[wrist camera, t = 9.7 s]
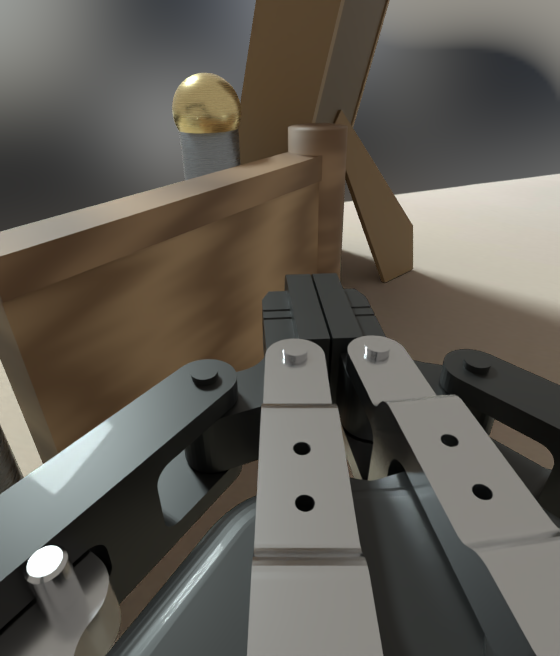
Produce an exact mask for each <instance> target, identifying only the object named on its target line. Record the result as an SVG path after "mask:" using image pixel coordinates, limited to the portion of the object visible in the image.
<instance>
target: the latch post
mask: <svg viewBox="0 0 560 656" xmlns="http://www.w3.org/2000/svg"><path fill="white" fill-rule="evenodd" d="M172 110H173V111H172V112H173V118H174V121H175V124H176V126H177V128H178V130H179V135H180V143H181V151H182V159H183V167H184V175H185V180H189V179H192V178H196V177H200V176H203V175H207V174H210V173H214V172H218V171H221V170H225V169H229V168H232V167H236V166H239V165H241V163H240V148H239V132H238V127H239V125H240V121H241V105H240V101H239V99H238V96H237V94H236V92H235V90H234V89H233V87H232V86H231V85H230V84H229V83H228V82H227V81H226V80H224V79H223V78H221V77H219V76H217V75H214V74H211V73H198V74H194V75H192V76H190V77H189V78H187V79H185V80H184V81H183V82H182V83H181V84H180V85H179V87H178V88H177V90H176V92H175V95H174V98H173V104H172Z"/></svg>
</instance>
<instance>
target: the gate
mask: <svg viewBox="0 0 560 656" xmlns="http://www.w3.org/2000/svg"><path fill="white" fill-rule="evenodd" d="M347 132H348V126H346V125H342V124H334V123H307V124H297V125H292V126H289V127H288V152H286V153H283V154H279V155H275V156H272V157H268V158H265V159H261V160H257V161H254V162H250V163H247V164H243V165H239V166H236V167H232V168H229V169H225V170H221V171H218V172H214V173H210V174H207V175H203V176H200V177H196V178H192V179H189V180H185V181H182V182H178V183H175V184H171V185H167V186H164V187H160V188H157V189H153V190H149V191H146V192H142V193H138V194H135V195H131V196H127V197H124V198H120V199H117V200H113V201H109V202H107V203H102V204H99V205H95V206H91V207H88V208H84V209H81V210H77V211H74V212H70V213H66V214H62V215H59V216H56V217H52V218H48V219H44V220H41V221H37V222H34V223H30V224H26V225H23V226H20V227H16V228H12V229H8V230H5V231H1V232H0V359H1V362H2V364H3V367H4V369H5V372H6V374H7V377H8V379H9V381H10V384H11V386H12V389H13V391H14V394H15V396H16V399H17V401H18V404H19V406H20V408H21V411H22V413H23V416H24V418H25V421H26V423H27V426H28V428H29V431H30V433H31V435H32V438H33V440H34V443H35V445H36V448H37V450H38V453H39V455H40V458H41V460H42V462H43V464H44V463H46V462H47V461H48V460H50V459H51V458H53V457H54V456H56V455H57V454H58V453H60V452H61V451H63V450H64V449H66V448H67V447H68V446H70V445H71V444H73V443H74V442H76V441H77V440H78V439H80V438H81V437H83V436H84V435H86V434H87V433H88V432H90V431H91V430H93V429H94V428H95V427H97V426H98V425H100V424H101V423H103V422H104V421H105V420H107V419H108V418H110V417H111V416H113V415H114V414H115V413H117V412H118V411H120V410H121V409H123V408H124V407H125V406H127V405H128V404H130V403H131V402H133V401H134V400H135V399H137V398H138V397H140V396H141V395H142V394H144V393H145V392H147V391H148V390H150V389H151V388H152V387H154V386H155V385H157V384H158V383H160V382H161V381H162V380H164V379H165V378H167V377H168V376H170V375H171V374H172V373H174V372H175V371H177V370H178V369H180V368H181V367H182V366H184V365H186V364H188V363H190V362H193V361H197V360H203V359H215V360H220V361H223V362H226V363H228V364H230V365H231V366H232V367H233V368H234V369H235V371H236V372H238V371H242V370H245V369H248V368H251V367H253V366H255V365H256V364H258V363H259V362H260V361H261V360H262V359H263V358H264V351H263V324H262V300H263V298H264V297H265V296H266V294H267V293H268V292H269V291H285V275H291V274H310V275H311V274H322V273H337V275H338V278H339V280H340V272H341V252H342V232H343V212H344V192H345V191H344V190H345V172H346V152H347Z"/></svg>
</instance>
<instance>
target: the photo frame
mask: <svg viewBox="0 0 560 656" xmlns="http://www.w3.org/2000/svg"><path fill="white" fill-rule="evenodd" d="M388 4H389V0H256V5H255V11H254V18H253V24H252V31H251V38H250V45H249V50H248V57H247V63H246V70H245V77H244V83H243V90H242V96H241V103H240V105H241V121H240V125H239V127H238V132H239V148H240V163H241V165H243V164H247V163H250V162H254V161H257V160H261V159H265V158H268V157H272V156H275V155H279V154H283V153H286V152H288V127H289V126H292V125H297V124H307V123H334V124H342V125H346V126H348V132H347V152H346V172H345V180H346V183H347V185H348V188H349V191H350V194H351V196H352V200H353V202H354V205H355V208H356V211H357V214H358V216H359V219H360V222H361V225H362V228H363V231H364V233H365V236H366V239H367V242H368V245H369V247H370V250H371V253H372V256H373V259H374V261H375V264H376V267H377V270H378V273H379V276H380V278H381V281H382V282H385V283H386V282H388V281H390V280H392V279H394V278H396V277H398V276H400V275H402V274H404V273H406V272H408V271H410V270H412V269H413V225H412V223H411V222H410V220H409V219H408V217H407V215H406V214H405V212H404V210H403V209H402V207H401V206H400V204H399V202H398V201H397V199H396V197H395V196H394V194H393V193H392V191H391V189H390V188H389V186H388V184H387V183H386V181H385V180H384V178H383V176H382V175H381V173H380V172H379V170H378V168H377V167H376V165H375V163H374V162H373V160H372V158H371V157H370V155H369V154H368V152H367V150H366V149H365V147H364V146H363V144H362V142H361V140H360V139H359V137H358V136H357V134H356V132H355V131H354V129H353V125H354V122H355V118H356V115H357V112H358V108H359V105H360V101H361V98H362V94H363V91H364V87H365V84H366V80H367V77H368V73H369V70H370V67H371V63H372V59H373V56H374V53H375V49H376V46H377V42H378V39H379V35H380V32H381V28H382V25H383V21H384V18H385V14H386V11H387V7H388Z"/></svg>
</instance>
